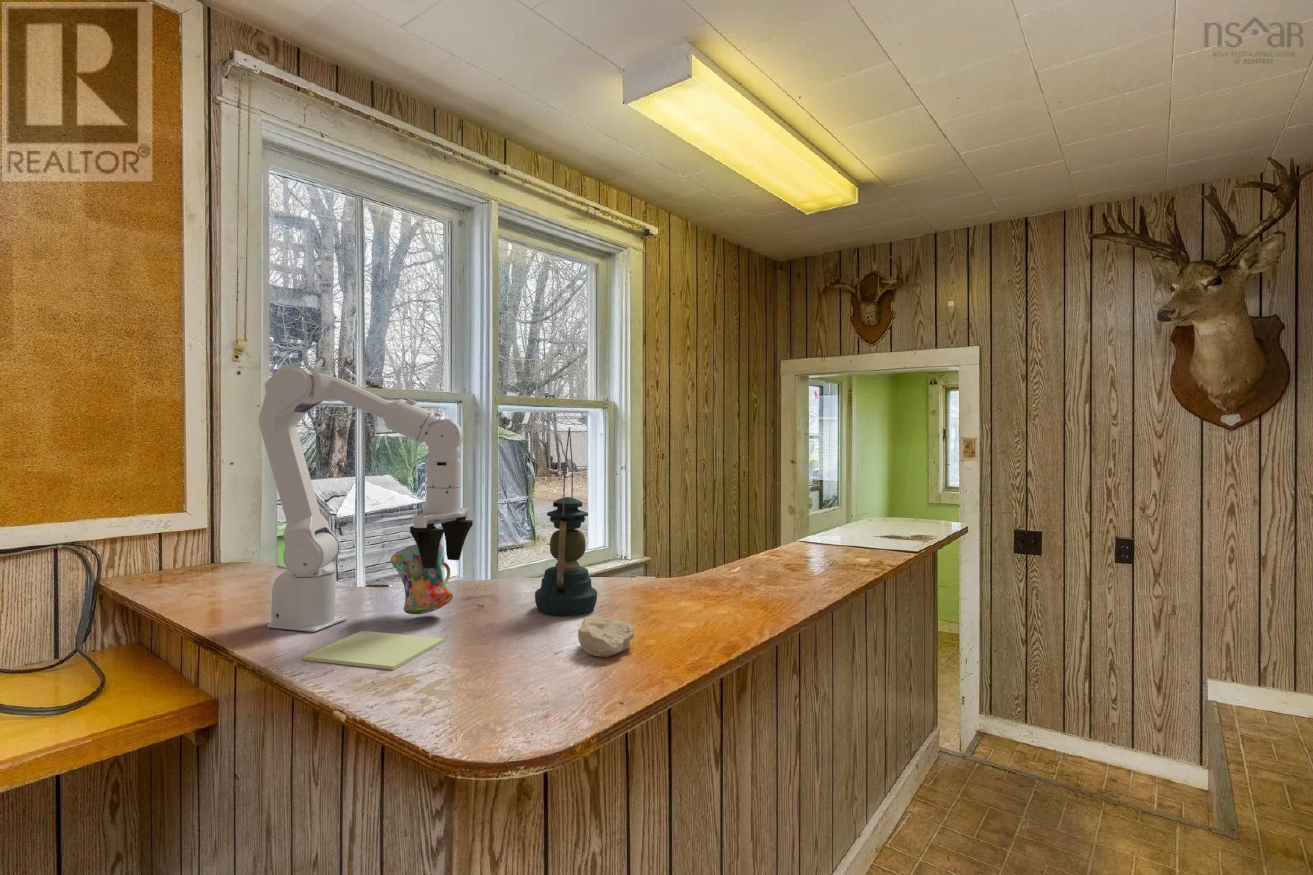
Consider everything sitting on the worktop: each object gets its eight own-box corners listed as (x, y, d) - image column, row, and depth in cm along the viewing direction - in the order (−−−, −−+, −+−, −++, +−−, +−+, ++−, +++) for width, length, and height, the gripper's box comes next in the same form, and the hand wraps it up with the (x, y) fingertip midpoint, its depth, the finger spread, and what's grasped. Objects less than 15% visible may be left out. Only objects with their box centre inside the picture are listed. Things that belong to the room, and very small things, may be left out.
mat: (302, 659, 94) (302, 656, 94) (362, 633, 107) (362, 630, 107) (393, 670, 91) (393, 666, 91) (444, 641, 103) (444, 638, 103)
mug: (429, 596, 109) (416, 539, 114) (390, 619, 112) (378, 562, 116) (477, 597, 120) (463, 545, 124) (440, 618, 122) (428, 566, 127)
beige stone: (640, 623, 106) (629, 614, 97) (633, 664, 103) (621, 660, 94) (589, 614, 108) (574, 605, 98) (581, 655, 105) (564, 649, 96)
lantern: (592, 620, 117) (596, 427, 117) (527, 619, 117) (531, 425, 117) (600, 600, 131) (603, 428, 131) (542, 599, 131) (545, 427, 131)
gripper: (440, 491, 107) (438, 573, 107) (484, 485, 121) (482, 557, 121) (403, 489, 108) (401, 570, 108) (450, 483, 122) (448, 555, 122)
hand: (441, 563), depth 115 cm, fingers open, 7 cm apart
